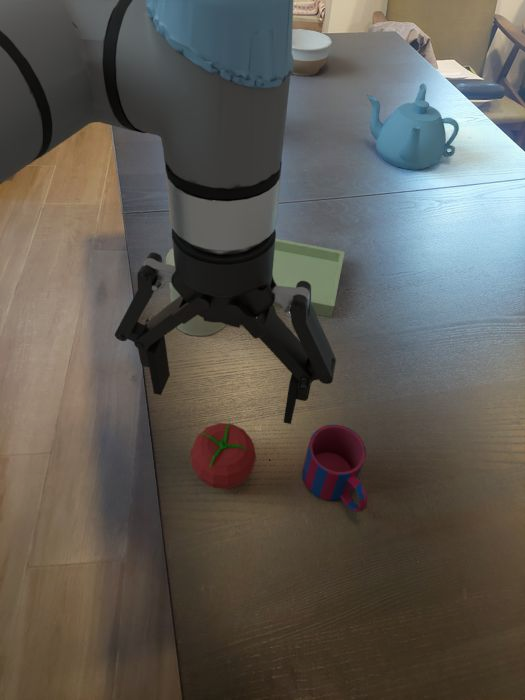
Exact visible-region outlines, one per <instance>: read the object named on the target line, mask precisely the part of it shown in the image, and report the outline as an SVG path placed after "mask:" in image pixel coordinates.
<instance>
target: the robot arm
mask: <svg viewBox="0 0 525 700" xmlns="http://www.w3.org/2000/svg"><path fill="white" fill-rule="evenodd" d="M293 19H294V0H0V185H2V184H3V183H4V182H6V181H7V180H9V179H10V178H11V177H13V176H15V175H16V174H17V173H18V172H21V170H23V169H25V168H26V167H27V166H29V165H31V164H32V163H34V162H35V161H36V160H38V159H40V158H42V157H44V156H45V155H46V154H48V153H49V152H51V151H52V150H53V149H55V148H56V147H58V146H59V145H61V144H62V143H64V142H65V141H67V140H68V139H70V138H71V137H72V136H74V135H75V134H77V133H78V132H80V131H81V130H82V129H85V127H87V126H88V125H90V124H93V123H94V124H95V123H101V124H104V125H109V126H113V127H116V128H121V129H123V130H124V129H125V130H128V131H131V132H132V131H133V132H137V133H141V134H150V135H155V136H158V137H159V138H160V139H161V145H162V149H163V150H162V151H163V160H164V166H165V167H164V168H165V175H166V188H167V199H168V201H167V202H168V213H169V223H170V226H171V241H172V248H173V252H174V262H175V266H172V265H169V264H166V262H163V257H162V256H161V255H160V254H159V253H158V252H157V253H156V252H153V251H152V252H149V253H148V254H147V257H146V258H145V260H144V261H143V264H142V265H141V267H140V269H139V270H138V271H137V275H136V276H137V277H136V279H137V291H136V292H135V294H134V297H133V298H132V299H131V302H130V304H129V306H128V307H127V310H126V312H125V313H124V315H123V317H122V319H121V321H120V323H119V325H118V327H117V329H116V330H115V333H114V337H115V338H116V339H117V340H118V341H121V342H126V341H131V342H133V343H134V346H135V348H137V351H138V355H139V362H140V364H141V365H142V366H143V368H148V370H149V375H150V380H151V385H152V392H153V394H154V395H158V396H162V394H163V391H164V389H165V387H166V385H167V382H168V381H169V378H170V376H171V374H170V372H171V371H170V366H169V360H168V359H169V358H168V350H167V344H166V337H165V336H166V335H168V334H169V333H171V332H172V331H173V330H175V329H177V326H179V325H180V324H181V323H183V324H185V323H187V322H188V321H189V320H191V319H192V318H194V317H195V316H197V315H199V316H200V317H202V318H204V321H208V322H220V323H224V324H226V325H225V326H229V327H233V328H238V329H240V327H241V326H242V327H243V328H244V329H245V330H246V331H247V332H248V334H249V335H250V336H251V337H252V338H253V339H256V340H257V339H259V340H261V342H262V343H263V344H264V345H265V346H266V347H267V348H268V349H269V351H271V353H273V355H274V356H275V357H276V358H277V359H278V360H279V362H280V363H281V364H282V365H283V366H284V367H285V368H286V370H288V371H289V372H290V374H291V375H290V379H289V384H288V390H287V396H286V404H285V410H284V416H283V422H282V423H284V424H287V425H292V420H293V417H294V411H295V407H296V402H297V400H298V401H303V402H306V401H307V400H308V399H309V396H310V392H311V387H312V383H313V382H314V381H319V382H320V383H322V384H324V385H329V384H332V383H333V381H334V376H335V370H336V363H337V358H336V356H335V354H334V351H333V349H332V347H331V344H330V342H329V340H328V338H327V335H326V333H325V330H324V329H323V327H322V324H321V322H320V320H319V317H318V315H316V313H315V311H314V309H313V306H312V304H311V285H310V283H308V282H307V281H300V282H298V283H297V285H296V288H294V287H284V286H277V285H276V283H275V281H274V279H273V262H274V250H275V239H277V238H276V237H277V232H276V226H277V223H278V216H279V203H280V190H281V177H282V163H283V162H282V160H283V159H282V158H283V149H284V142H285V141H284V140H285V131H286V121H287V113H288V112H287V111H288V101H289V92H290V83H291V76H292V75H293V74H292V72H293V55H292V29H294V28H293V24H294V23H293V22H294V20H293ZM169 282H171V283H172V285H173V287H174V288H175V290H176V291H177V292H178V293H179V294H180V295H181V296H179V297H178V298H177V299H176V300H174V301H173V302H172V303H171V302H170V303H169V304H168V305H167V306H165V307H164V308H163V309H161V310H160V311H159V312H157V313H156V314H155V315H154V316H152V317H151V318H148V317H147V318H146V319H145V322H144V324H143V323H141V322H138V321H139V320H140V318H141V316H142V314H143V313H144V311H145V310H146V307H147V305H148V303H149V301H150V300H151V298H152V296H153V295H154V292H157V291H158V290H159V289H163V288H164V287H165V285H166V284H169ZM274 302H275V303H278V304H280V305H281V306H282V307H283V308H282V307H281V308H282V310H283V312H284V316H285V317H286V318H290V321H291V326H292V328H293V330H294V332H295V334H296V335H295V334H294V332H293V331H292V330H291V329H290V327H288V325H287V324H286V323H285V322H284V321H283V319H282V318H280V316H279V314H277V312H276V311H277V310H276V306H274V305H273V303H274Z"/></svg>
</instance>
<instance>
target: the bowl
mask: <svg viewBox="0 0 525 700" xmlns="http://www.w3.org/2000/svg"><path fill="white" fill-rule="evenodd" d="M332 44H333V42H332V39H331V37H329V36H328V35H327V34H325V33H322V32H319V31H316V30H311V29H303V28H301V29H300V28H295V29H294V28H292V55H293V72H292V75H295V76H301V77H302V76H303V77H307V76H308V77H309V76H313V75H316V74H317V73H319V71H320V69H322V68H323V67H324V66H325V64H326V63H327V61H328V58H329V55H330V48H331V46H332Z"/></svg>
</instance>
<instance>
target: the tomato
mask: <svg viewBox="0 0 525 700" xmlns="http://www.w3.org/2000/svg"><path fill="white" fill-rule="evenodd" d="M256 459H257V452H256V449H255V444H254V442H253V440H252V438H251V437H250V435H249V434H248V433H247V431H245V429H244V428H241V427H240V426H238V425H235V424H234V423H231V422H229V423H225V422H223V423H222V422H219V423H215V424H213V425H209V426H207V427H205V429H203V430H202V431H201V432H199V434H197V437H196V438H195V440H194V442H193V445H192V447H191V450H190V461H191V462H190V464H191V467H192V469H193V471H194V472H195V474H196V475H197V477H198V478H199V480H200V481H201V483H203V484H206V485H208V486H209V487H211V488H212V489H222V490H223V489H224V490H225V489H226V490H228V489H231V488H234V487H236V486H239V485H241V484H242V483H243V482H244V481H245V480H246V479H247V478H248V477H249V476H250V474H251V473H252V471H253V468H254V466H255V463H256Z"/></svg>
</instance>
